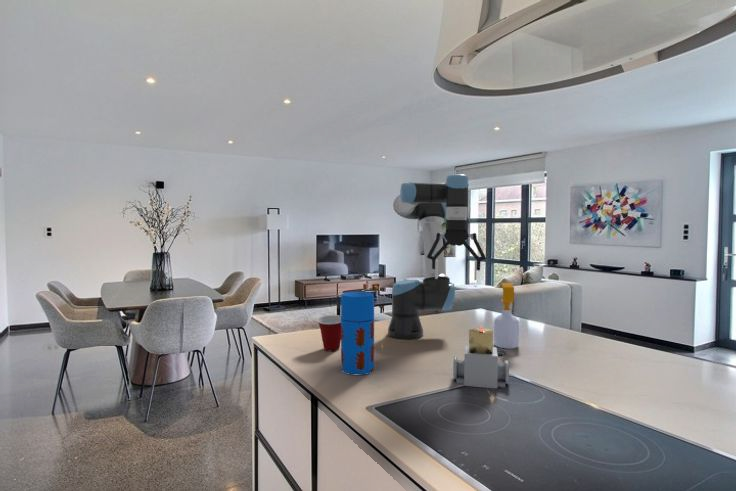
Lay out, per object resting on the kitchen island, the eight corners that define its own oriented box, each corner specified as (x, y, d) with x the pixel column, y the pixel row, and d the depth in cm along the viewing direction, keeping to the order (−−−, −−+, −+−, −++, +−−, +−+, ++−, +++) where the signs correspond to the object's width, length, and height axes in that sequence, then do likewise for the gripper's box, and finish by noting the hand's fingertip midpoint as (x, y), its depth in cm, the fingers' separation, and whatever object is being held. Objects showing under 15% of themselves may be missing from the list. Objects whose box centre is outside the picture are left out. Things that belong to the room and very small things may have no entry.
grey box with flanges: (452, 384, 129) (453, 353, 128) (454, 373, 138) (454, 344, 137) (509, 389, 125) (509, 357, 124) (507, 378, 134) (507, 348, 133)
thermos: (379, 367, 144) (379, 292, 143) (365, 377, 135) (365, 297, 133) (350, 362, 149) (350, 290, 148) (335, 372, 139) (334, 295, 138)
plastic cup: (311, 351, 162) (311, 319, 162) (325, 344, 172) (325, 314, 172) (337, 354, 158) (337, 322, 157) (350, 346, 168) (350, 316, 167)
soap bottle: (515, 342, 174) (516, 282, 172) (520, 349, 164) (522, 285, 163) (492, 342, 174) (493, 281, 173) (496, 348, 165) (497, 284, 164)
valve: (493, 363, 127) (493, 332, 126) (468, 361, 128) (468, 331, 128) (492, 356, 133) (492, 326, 133) (469, 354, 135) (469, 325, 135)
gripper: (419, 219, 152) (419, 279, 153) (493, 219, 146) (492, 281, 147) (422, 219, 159) (421, 276, 160) (493, 219, 153) (491, 278, 154)
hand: (455, 279), depth 154 cm, fingers open, 13 cm apart
